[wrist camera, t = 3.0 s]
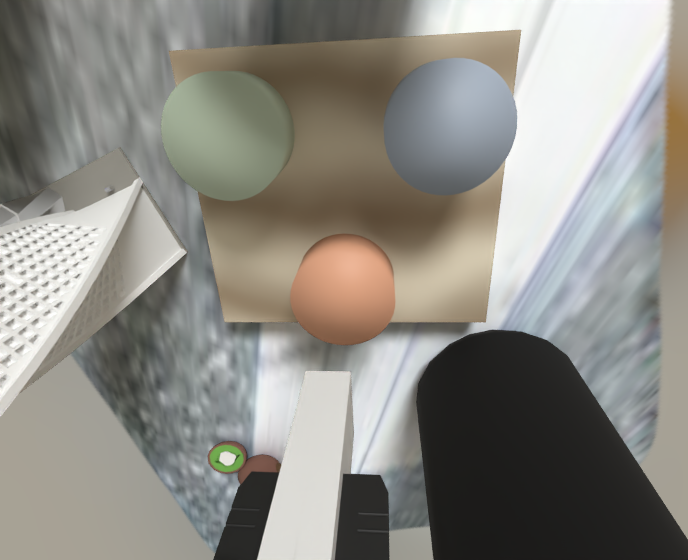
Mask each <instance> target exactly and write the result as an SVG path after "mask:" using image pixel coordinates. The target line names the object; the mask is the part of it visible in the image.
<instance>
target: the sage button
mask: <svg viewBox="0 0 688 560" xmlns="http://www.w3.org/2000/svg"><path fill="white" fill-rule="evenodd" d="M161 135H162V141H163V145H164V148H165V151H166V154H167V156H168V159H169V161H170V162H171V164H172V166H173V167H174V169H175V170H176V172H177V173H178V174H179V175H180V177H181V178H182V179H183V180H184V181H185V182H186V183H187V184H189V185H190V186H191V187H192V188H194V189H195V190H197V191H198V192H200V193H202V194H204V195H206V196H208V197H211V198H214V199H218V200H224V201H238V200H243V199H247V198H250V197H252V196H255V195H256V194H258V193H260V192H261V191H262V190H264V189H265V188H266V187H267V186H268V185H269V184H270V183H271V182H272V181H273V180H274V179H275V178H276V177H277V176H278V175H279V174H280V173H281V171H282V170H283V169H284V168H285V166H286V165H287V163H288V161H289V160H290V157H291V155H292V152H293V147H294V140H295V131H294V124H293V119H292V116H291V113H290V111H289V108H288V106H287V104H286V103H285V101H284V99H283V98H282V97H281V95H280V94H279V93H278V92H277V91H276V89H275V88H274V87H272V86H271V85H270V84H269V83H268V82H266V81H265V80H263V79H261V78H260V77H257V76H255V75H253V74H250V73H247V72H241V71H208V72H202V73H198V74H195V75H193V76H190V77H188V78H187V79H185V80H184V81H182V82H181V83H180V84H179V85H178V86H177V87H176V88H175V89H174V90H173V91H172V93H171V94H170V96H169V97H168V99H167V101H166V104H165V106H164V109H163V114H162V120H161Z"/></svg>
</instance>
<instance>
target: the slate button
mask: <svg viewBox="0 0 688 560" xmlns="http://www.w3.org/2000/svg"><path fill="white" fill-rule="evenodd" d="M516 129H517V110H516V105H515V101H514V98H513V95H512V93H511V91H510V89H509V87H508V85H507V84H506V82H505V81H504V80H503V78H502V77H501V76H500V75H499V74H498V73H497V72H496V71H494V70H493V69H492V68H490V67H489V66H487V65H485V64H483V63H481V62H478V61H475V60H472V59H466V58H449V59H442V60H435V61H432V62H428V63H426V64H423V65H421V66H419V67H418V68H416V69H414V70H413V71H411V72H410V73H409V74H408V75H406V76H405V77H404V78H403V79H402V80H401V81H400V83H399V84H398V85H397V87H396V88H395V89H394V91H393V93H392V94H391V97H390V99H389V101H388V103H387V107H386V110H385V115H384V142H385V147H386V152H387V155H388V158H389V160H390V162H391V164H392V166H393V168H394V169H395V171H396V172H397V174H398V175H399V176H400V177H401V178H402V179H403V180H404V181H405V182H407V183H408V184H409V185H411V186H412V187H414V188H416V189H418V190H420V191H422V192H425V193H429V194H434V195H454V194H459V193H463V192H466V191H469V190H471V189H473V188H475V187H477V186H479V185H480V184H482V183H484V182H485V181H486V180H488V179H489V178H490V177H491V176H492V175H493V174H494V173H495V172H496V171H497V170H498V169H499V168H500V166H501V165H502V164H503V162H504V161H505V159H506V158H507V156H508V154H509V152H510V150H511V148H512V145H513V142H514V139H515V134H516Z"/></svg>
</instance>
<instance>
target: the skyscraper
mask: <svg viewBox="0 0 688 560" xmlns="http://www.w3.org/2000/svg"><path fill="white" fill-rule="evenodd" d="M187 252H188V251H187V250H186V248H185V247H184V245H183V244H182V242H181V240H180V239H179V237H178V236H177V234H176V233H175V231H174V230H173V228H172V227H171V225H170V223H169V222H168V220H167V219H166V217H165V216H164V214H163V213H162V211H161V210H160V208H159V206H158V205H157V203H156V202H155V200H154V199H153V197H152V196H151V194H150V193H149V191H148V189H147V188H146V186H145V185H144V183H143V182H142V180H141V179H140V177H139V176H138V174H137V172H136V171H135V169H134V168H133V166H132V165H131V163H130V162H129V160H128V159H127V157H126V155H125V154H124V152H123V151H122V149H121V148H118V149H116V150H114V151H112V152H110V153H108V154H106V155H104V156H103V157H101V158H99V159H97V160H95V161H93V162H91V163H89V164H88V165H86V166H84V167H82V168H80V169H78V170H76V171H74V172H73V173H71V174H69V175H67V176H65V177H63V178H61V179H59V180H58V181H56V182H54V183H52V184H50V185H48V186H46V187H44V188H43V189H41V190H39V191H37V192H35V193H33V194H31V195H29V196H26V197H22V198H19V199H16V200H12V201H9V202H5V203H2V204H0V416H1V415H2V414H3V413H4V412H5V410H6V409H7V408H8V407H9V405H10V404H11V403H12V401H13V400H14V399H15V397H16V396H17V395H18V394H19V393H21V392H22V391H23V390H24V389H26V388H27V387H28V386H30V385H31V384H32V383H34V382H35V381H36V380H37V379H39V378H40V377H41V376H43V375H44V374H45V373H46V372H48V371H49V370H50V369H52V368H53V367H54V366H55V365H57V364H58V363H59V362H60V361H62V360H63V359H64V358H65V357H67V356H68V355H69V354H70V353H72V352H73V351H74V350H75V349H76V348H78V347H79V346H80V345H81V344H83V343H84V342H85V341H86V340H87V339H89V338H90V337H91V336H92V335H94V334H95V333H96V332H97V331H98V330H99V329H101V328H102V327H103V326H104V325H105V324H106V323H108V322H109V321H110V320H111V319H112V318H113V317H115V316H116V315H117V314H118V313H119V312H120V311H122V310H123V309H124V308H125V307H126V306H127V305H129V304H130V303H131V302H132V301H133V300H134V299H135V298H137V297H138V296H139V295H140V294H141V293H142V292H143V291H144V290H146V289H147V288H148V287H149V286H150V285H151V284H152V283H153V282H155V281H156V280H157V279H158V278H159V277H160V276H161V275H162V274H164V273H165V272H166V271H167V270H168V269H169V268H170V267H171V266H172V265H174V264H175V263H176V262H177V261H178V260H179V259H180V258H181V257H182V256H184V255H185V254H186V253H187Z"/></svg>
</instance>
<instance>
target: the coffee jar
mask: <svg viewBox="0 0 688 560" xmlns="http://www.w3.org/2000/svg"><path fill="white" fill-rule="evenodd" d="M416 403H417V412H418V422H419V431H420V440H421V449H422V458H423V467H424V476H425V486H426V495H427V504H428V513H429V522H430V531H431V540H432V550H433V558H434V560H688V539H687V538H686V536H685V535H684V533H683V532H682V530H681V529H680V527H679V525H678V524H677V523H676V521H675V519H674V518H673V516H672V515H671V513H670V512H669V511H668V509H667V507H666V506H665V504H664V503H663V501H662V500H661V498H660V497H659V495H658V493H657V492H656V490H655V489H654V487H653V486H652V484H651V483H650V481H649V480H648V478H647V477H646V475H645V473H644V472H643V470H642V469H641V467H640V466H639V464H638V463H637V461H636V460H635V458H634V457H633V455H632V454H631V452H630V451H629V449H628V448H627V446H626V444H625V443H624V441H623V440H622V438H621V437H620V435H619V434H618V432H617V431H616V429H615V428H614V426H613V425H612V423H611V422H610V420H609V418H608V417H607V415H606V414H605V412H604V411H603V409H602V408H601V406H600V405H599V403H598V402H597V400H596V399H595V397H594V396H593V394H592V392H591V391H590V389H589V388H588V386H587V385H586V383H585V382H584V380H583V379H582V377H581V376H580V374H579V373H578V371H577V370H576V368H575V366H574V365H573V363H572V362H571V360H570V359H569V357H568V356H567V355H566V354H565V353H563V352H562V351H561V350H559V349H558V348H557V347H555V346H554V345H553V344H551V343H550V342H549V341H547V340H545V339H542V338H539V337H536V336H533V335H530V334H527V333H524V332H518V331H506V330H489V331H484V332H479V333H474V334H469V335H467V336H465V337H463V338H461V339H459V340H457V341H455V342H453V343H451V344H449V345H448V346H447V347H446V348H445V349H444V350H443V351H442V352H441V353H440V354H438V355H437V356H436V357H435V358H434V359H433V360H432V361H431V362H430V363H429V365H428V367H427V369H426V371H425V372H424V374H423V376H422V378H421V380H420V382H419V384H418V393H417V401H416Z"/></svg>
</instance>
